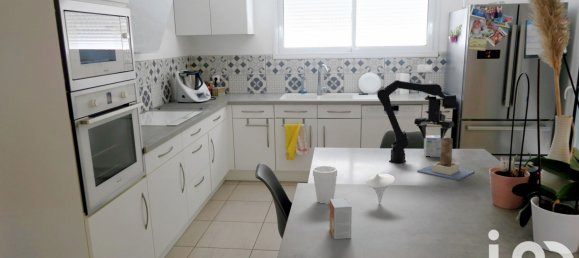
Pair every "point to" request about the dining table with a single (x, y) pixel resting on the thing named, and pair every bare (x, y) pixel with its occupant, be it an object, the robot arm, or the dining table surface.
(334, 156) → the dining table surface
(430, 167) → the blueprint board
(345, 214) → the small box
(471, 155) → the dining table surface
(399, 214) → the dining table surface
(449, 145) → the walnut column
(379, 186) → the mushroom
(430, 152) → the light bulb box
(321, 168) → the foam cup
